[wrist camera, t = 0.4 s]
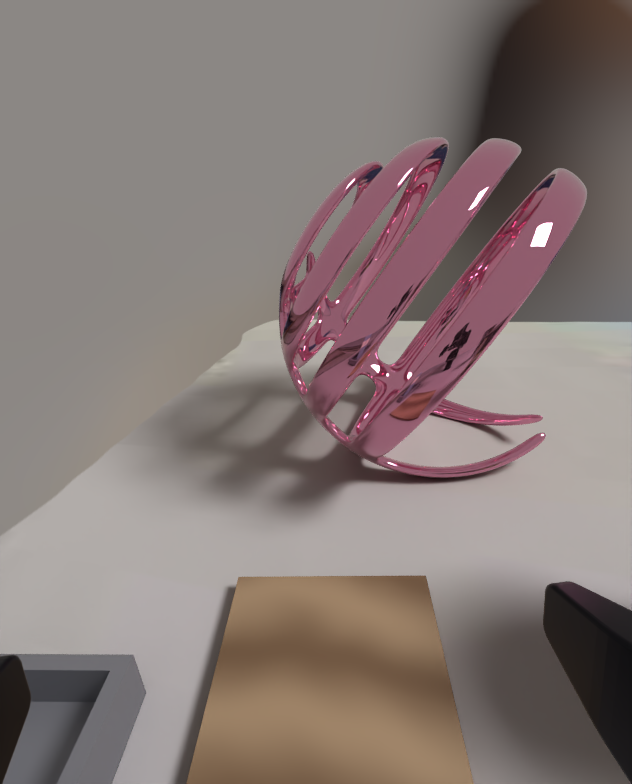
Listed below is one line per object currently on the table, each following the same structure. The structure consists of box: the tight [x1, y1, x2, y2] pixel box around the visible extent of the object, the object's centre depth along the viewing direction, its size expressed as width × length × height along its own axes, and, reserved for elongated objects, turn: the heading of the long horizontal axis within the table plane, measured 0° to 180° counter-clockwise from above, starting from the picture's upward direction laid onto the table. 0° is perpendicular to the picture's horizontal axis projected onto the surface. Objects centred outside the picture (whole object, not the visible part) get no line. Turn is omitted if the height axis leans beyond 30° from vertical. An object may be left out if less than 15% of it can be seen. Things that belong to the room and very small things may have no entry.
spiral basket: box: [279, 137, 587, 478], centre depth 39 cm, size 28×28×27 cm
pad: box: [186, 576, 474, 784], centre depth 23 cm, size 12×12×1 cm
